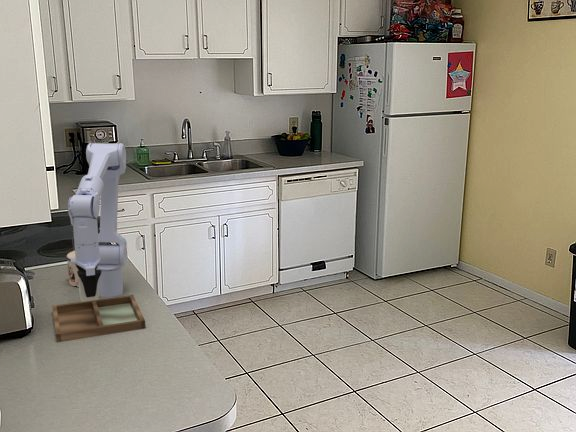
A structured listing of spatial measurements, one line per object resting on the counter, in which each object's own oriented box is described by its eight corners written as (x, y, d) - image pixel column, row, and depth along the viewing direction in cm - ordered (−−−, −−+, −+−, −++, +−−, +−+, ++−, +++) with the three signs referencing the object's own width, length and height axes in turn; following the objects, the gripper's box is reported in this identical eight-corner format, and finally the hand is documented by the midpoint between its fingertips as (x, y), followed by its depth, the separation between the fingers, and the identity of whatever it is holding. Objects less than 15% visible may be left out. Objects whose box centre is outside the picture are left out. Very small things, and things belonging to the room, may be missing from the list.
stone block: (79, 295, 152) (77, 277, 151) (97, 293, 154) (95, 275, 152) (80, 302, 148) (79, 283, 147) (99, 299, 150) (97, 281, 148)
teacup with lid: (67, 279, 183) (64, 243, 180) (97, 275, 187) (95, 240, 184) (70, 293, 173) (67, 255, 170) (103, 288, 176) (100, 251, 173)
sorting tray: (53, 316, 157) (52, 305, 156) (133, 304, 165) (132, 294, 165) (57, 345, 141) (56, 334, 141) (145, 331, 150) (145, 320, 149)
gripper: (67, 235, 152) (71, 284, 155) (71, 252, 139) (75, 305, 143) (96, 232, 155) (99, 281, 158) (102, 249, 142) (105, 301, 145)
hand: (89, 292), depth 151 cm, fingers closed on stone block, 4 cm apart
